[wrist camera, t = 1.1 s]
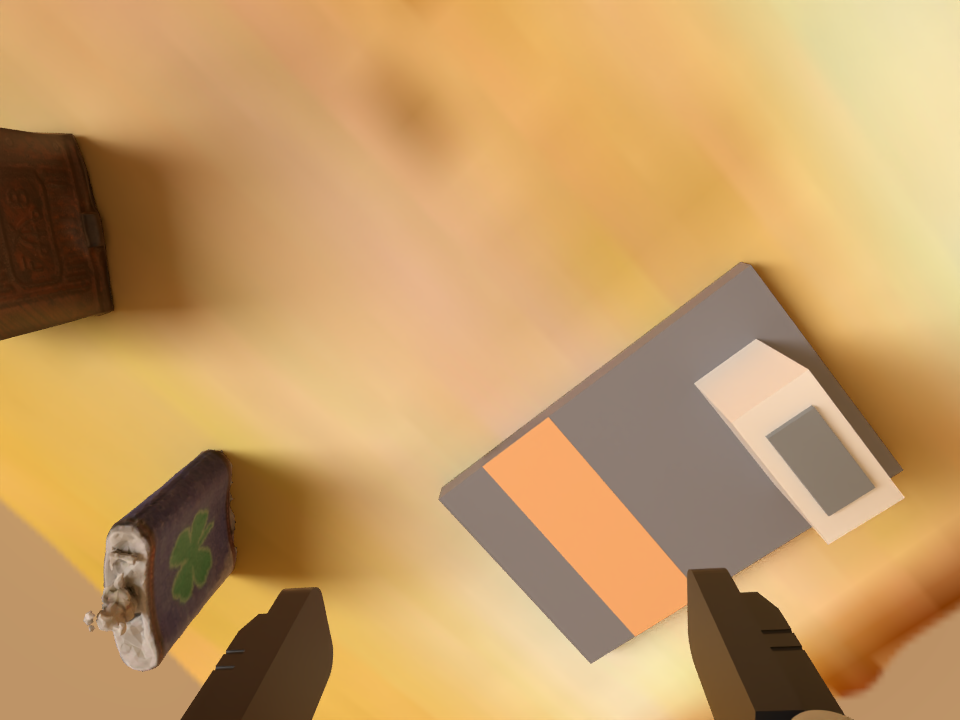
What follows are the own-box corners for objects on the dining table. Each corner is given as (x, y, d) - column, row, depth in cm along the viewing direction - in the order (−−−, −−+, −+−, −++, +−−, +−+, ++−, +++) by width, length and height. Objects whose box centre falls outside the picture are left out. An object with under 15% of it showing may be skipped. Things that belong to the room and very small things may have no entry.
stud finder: (756, 338, 32) (812, 371, 25) (837, 445, 33) (909, 501, 27) (693, 383, 32) (733, 425, 26) (775, 485, 34) (831, 548, 28)
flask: (239, 574, 40) (139, 705, 29) (197, 570, 40) (83, 698, 30) (234, 449, 37) (123, 543, 27) (189, 445, 37) (62, 537, 27)
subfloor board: (740, 261, 32) (751, 264, 31) (887, 458, 34) (903, 470, 33) (441, 487, 37) (438, 499, 35) (588, 646, 39) (590, 663, 38)
